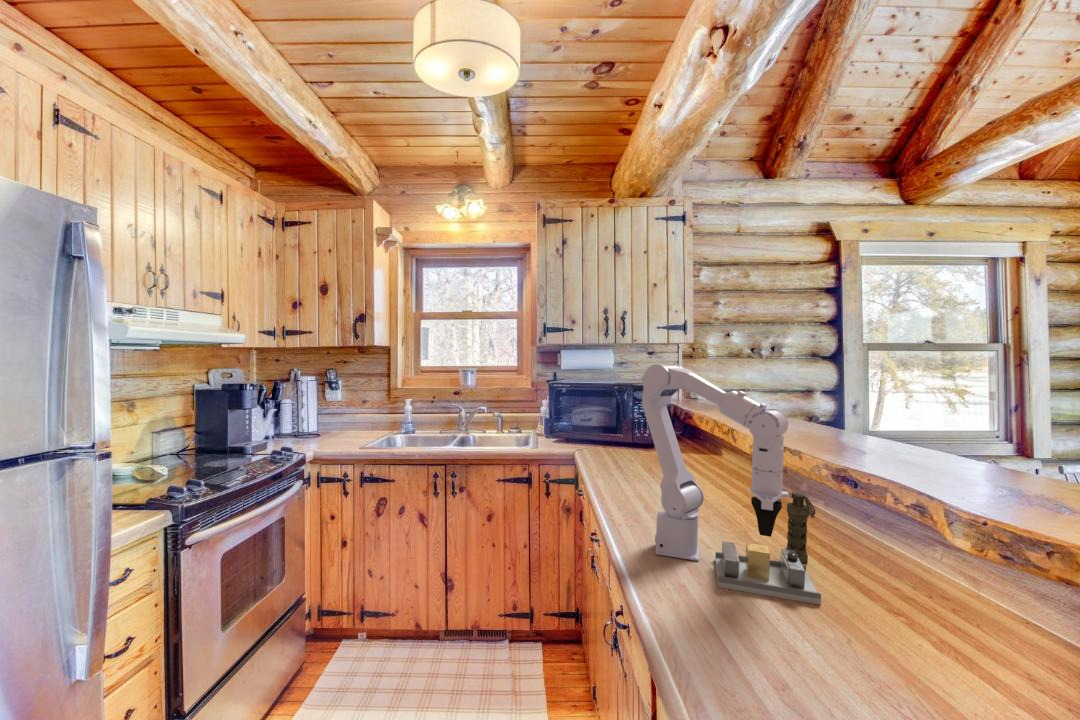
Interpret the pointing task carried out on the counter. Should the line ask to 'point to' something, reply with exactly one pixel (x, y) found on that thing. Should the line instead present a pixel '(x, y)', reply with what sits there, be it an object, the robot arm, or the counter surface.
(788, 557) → the bar
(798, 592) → the board
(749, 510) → the counter surface
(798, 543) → the grenade
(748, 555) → the block
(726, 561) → the fixed jaw
